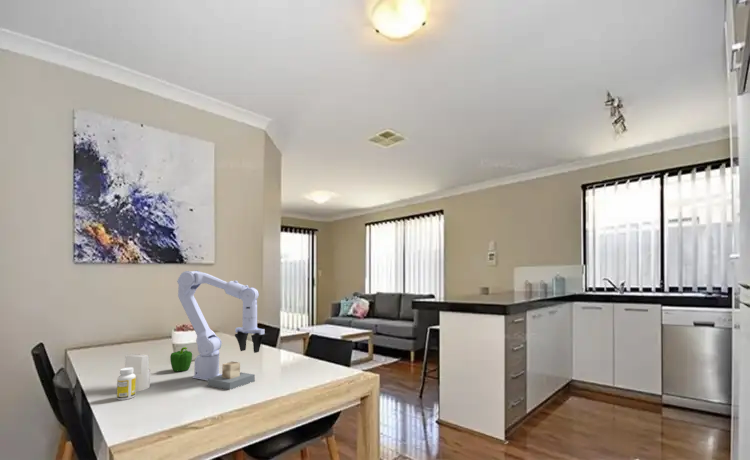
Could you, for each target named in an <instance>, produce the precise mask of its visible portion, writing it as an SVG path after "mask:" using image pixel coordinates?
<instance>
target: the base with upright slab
mask: <svg viewBox="0 0 750 460" xmlns="http://www.w3.org/2000/svg"><path fill="white" fill-rule="evenodd" d="M149 358H150V355H149V354H140V353H138V354H137V353H130V354H125V355H124V368H129V367H133V368H134V371H133V374H135V376H136V384H135V393H137V392H140V391H144V390H147V389H149V388H150V387H151V369H149V363H150V359H149Z"/></svg>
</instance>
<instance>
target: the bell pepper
mask: <svg viewBox="0 0 750 460" xmlns="http://www.w3.org/2000/svg"><path fill="white" fill-rule="evenodd" d="M187 349H188V347H186V346H184V347H181V349H180V350H178V351H175V352H172V353H171V354H170V359H169V360H170V364H171V369H172V371H174V372H185V371H188V370H189V369H190V367H191V364H192V362H193V361H192V360H193V354H192V351H190V350H187Z"/></svg>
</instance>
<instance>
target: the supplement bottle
mask: <svg viewBox="0 0 750 460" xmlns="http://www.w3.org/2000/svg"><path fill="white" fill-rule="evenodd" d="M133 371H134V368H133V367H129V368H125V367H123V368H120V370H119V374H120V375H119V376H118V377H117V381H116V382H117V383H116V385H117V387H116V389H117V390H116V399H117V400H119V401H125V400H130V399H133V398H135V397H136V392H135V384H136V376H135V374H133Z"/></svg>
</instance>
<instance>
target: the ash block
mask: <svg viewBox="0 0 750 460" xmlns="http://www.w3.org/2000/svg"><path fill="white" fill-rule="evenodd" d="M221 366H222V367H221V368H222V370H221V371H222V372H221V374H222V378H228V379H232V378H235V377H238V376H240V372H241V362H239V361H238V362H237V361H229V362H225V363H222V365H221Z"/></svg>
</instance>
